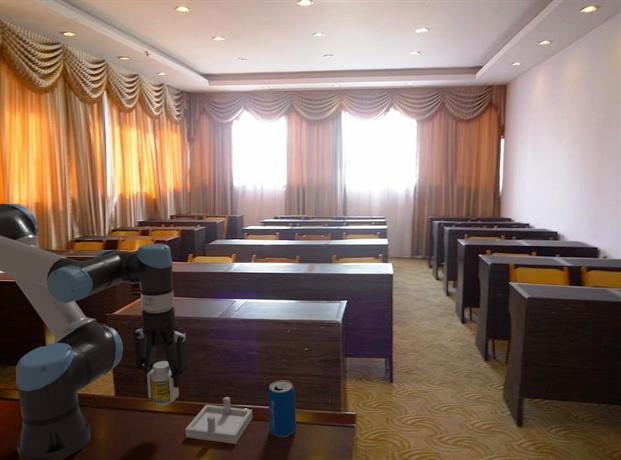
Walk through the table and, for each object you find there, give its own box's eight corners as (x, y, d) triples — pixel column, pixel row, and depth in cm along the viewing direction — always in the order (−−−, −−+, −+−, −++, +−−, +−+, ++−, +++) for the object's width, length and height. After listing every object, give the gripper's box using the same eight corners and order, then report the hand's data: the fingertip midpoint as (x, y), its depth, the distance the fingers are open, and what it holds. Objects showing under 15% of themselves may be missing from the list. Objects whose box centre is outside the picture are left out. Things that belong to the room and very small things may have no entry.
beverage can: (264, 432, 111) (262, 386, 109) (283, 420, 116) (281, 376, 114) (282, 442, 107) (280, 395, 105) (301, 430, 112) (300, 385, 110)
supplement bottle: (171, 392, 117) (169, 357, 115) (177, 401, 113) (175, 366, 111) (150, 398, 114) (147, 363, 113) (155, 408, 110) (153, 371, 108)
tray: (186, 437, 110) (184, 417, 109) (206, 412, 121) (205, 394, 120) (235, 443, 107) (234, 423, 106) (252, 417, 117) (251, 399, 117)
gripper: (114, 310, 108) (122, 400, 112) (184, 316, 104) (189, 409, 108) (134, 300, 115) (140, 384, 119) (200, 306, 111) (204, 393, 115)
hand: (163, 396), depth 113 cm, fingers closed on supplement bottle, 5 cm apart
